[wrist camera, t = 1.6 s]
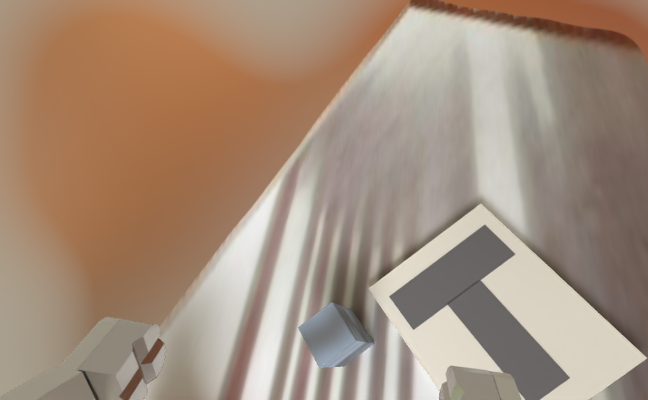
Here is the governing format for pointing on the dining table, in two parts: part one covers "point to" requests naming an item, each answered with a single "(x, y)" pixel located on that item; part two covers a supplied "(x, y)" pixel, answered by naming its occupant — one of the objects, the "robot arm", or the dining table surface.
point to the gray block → (335, 336)
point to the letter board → (501, 314)
